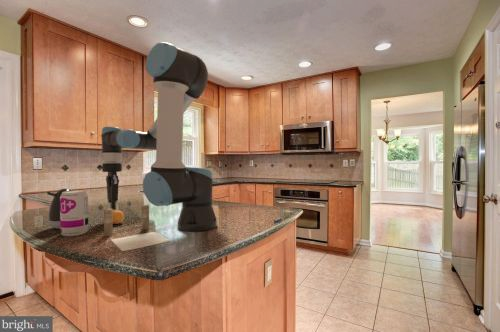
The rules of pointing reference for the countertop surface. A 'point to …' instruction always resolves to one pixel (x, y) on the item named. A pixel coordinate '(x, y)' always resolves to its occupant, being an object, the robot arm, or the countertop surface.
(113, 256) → the countertop surface
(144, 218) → the post right
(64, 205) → the supplement can
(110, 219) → the post left
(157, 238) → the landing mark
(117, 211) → the ball
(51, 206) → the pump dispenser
